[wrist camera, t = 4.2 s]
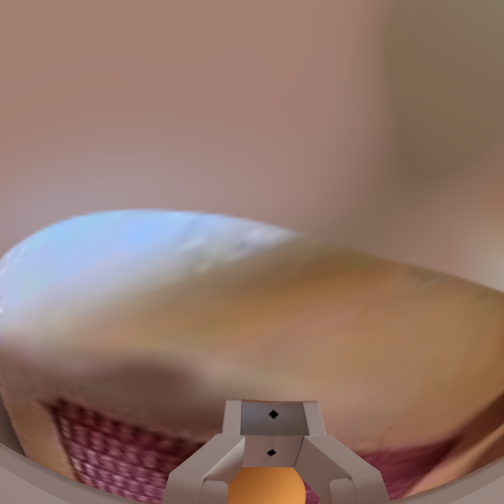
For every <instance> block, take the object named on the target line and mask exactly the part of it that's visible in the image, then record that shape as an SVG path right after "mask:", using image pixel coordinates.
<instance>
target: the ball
mask: <svg viewBox="0 0 504 504" xmlns="http://www.w3.org/2000/svg"><path fill="white" fill-rule="evenodd" d="M305 499H306V493H305V487H304V484H303V481H302V479H301V477H300V476H299V474H298V473H297V472H296V470H295V469H294V468H293V467H291V468H282V467H242V469H241V471H240V472H239V473H238V474H237V475H236V477H235V478H234V479H233V480H232V481H231V483H230V484H229V485H228V504H305Z"/></svg>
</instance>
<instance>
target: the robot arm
mask: <svg viewBox="0 0 504 504" xmlns="http://www.w3.org/2000/svg"><path fill="white" fill-rule="evenodd" d="M242 467H282V468H291V467H294V469H295V470H296V472H297V473H298V474H299V475H300V476H301V477H302V478H303V480H304V481H305V482H306V483H307V484H308V485H309V486H310V488H311V489H312V490H313V491H314V492H315V493H316V494H317V495H318V496H319V497H320V498H321V499H320V500H319V502H318V503H317V504H504V455H503V456H502V457H500V458H498V459H496V460H494V461H493V462H491V463H489V464H487V465H485V466H483V467H481V468H479V469H477V470H475V471H473V472H471V473H468V474H466V475H464V476H462V477H459V478H457V479H455V480H452V481H450V482H448V483H445V484H442V485H440V486H437V487H435V488H432V489H429V490H426V491H423V492H420V493H417V494H414V495H411V496H408V497H404V498H401V499H397V500H393V501H390V499H389V496H388V493H387V491H386V488H385V485H384V482H383V479H382V477H381V474H380V472H379V471H378V470H377V469H375V468H374V467H372V466H371V465H370V464H368V463H367V462H366V461H364V460H363V459H362V458H360V457H359V456H358V455H356V454H355V453H354V452H352V451H351V450H350V449H348V448H347V447H346V446H344V445H343V444H342V443H341V442H339V441H338V440H337V439H336V438H334V437H333V436H332V435H326V431H325V427H324V424H323V420H322V416H321V412H320V408H319V405H318V402H317V401H258V400H244V399H242V400H240V399H230V398H226V401H225V409H224V418H223V426H222V434H216V435H215V436H214V437H213V438H211V439H210V440H209V441H208V442H207V443H206V444H205V445H203V446H202V447H201V448H200V449H199V450H198V451H196V452H195V453H194V454H193V455H192V456H190V457H189V458H188V459H187V460H186V461H184V462H183V463H182V464H181V465H179V466H178V467H177V468H176V469H174V470H173V471H172V472H171V473H170V474H169V478H168V482H167V486H166V490H165V494H164V498H163V502H162V504H228V485H229V484H230V483H231V481H232V480H233V479H234V478H235V477H236V475H237V474H238V473H239V472H240V471H241V469H242ZM0 504H146V503H142V502H138V501H134V500H131V499H127V498H124V497H120V496H117V495H114V494H110V493H107V492H104V491H101V490H98V489H96V488H93V487H90V486H87V485H85V484H82V483H80V482H77V481H75V480H72V479H70V478H67V477H65V476H63V475H60V474H58V473H56V472H54V471H52V470H50V469H48V468H45V467H43V466H41V465H39V464H37V463H36V462H34V461H32V460H30V459H28V458H26V457H24V456H22V455H21V454H19V453H17V452H16V451H14V450H12V449H10V448H9V447H7V446H6V445H4V444H2V443H1V442H0Z"/></svg>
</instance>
